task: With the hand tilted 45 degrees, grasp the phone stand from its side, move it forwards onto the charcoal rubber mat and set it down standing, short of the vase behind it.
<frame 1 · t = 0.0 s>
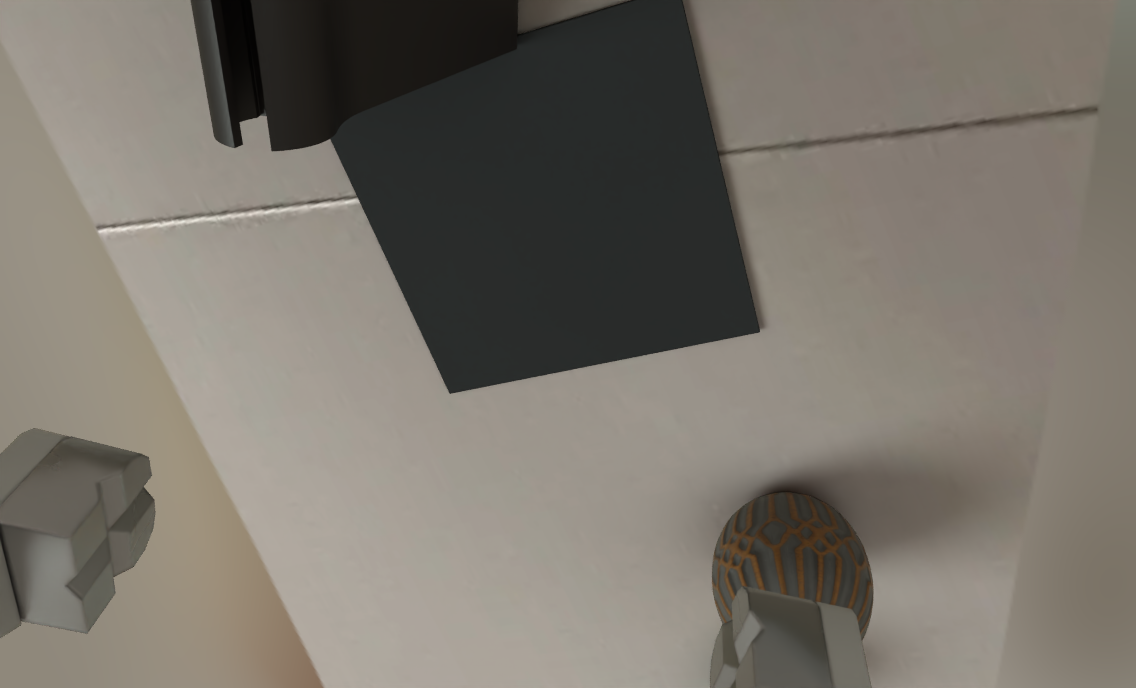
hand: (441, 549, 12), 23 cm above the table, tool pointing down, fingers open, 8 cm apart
mat: (547, 219, 35), on the table
vase: (782, 520, 42), on the table
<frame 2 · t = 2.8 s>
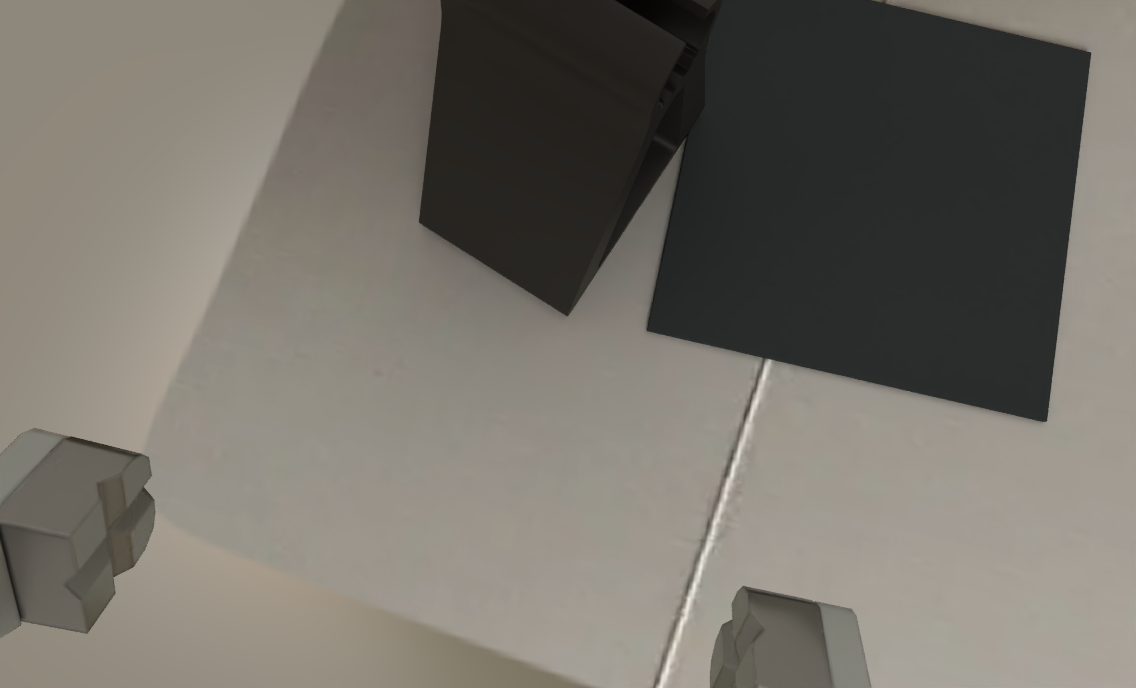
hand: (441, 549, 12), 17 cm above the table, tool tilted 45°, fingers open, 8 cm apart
mat: (877, 186, 31), on the table
phone stand: (564, 169, 31), on the table, touching mat
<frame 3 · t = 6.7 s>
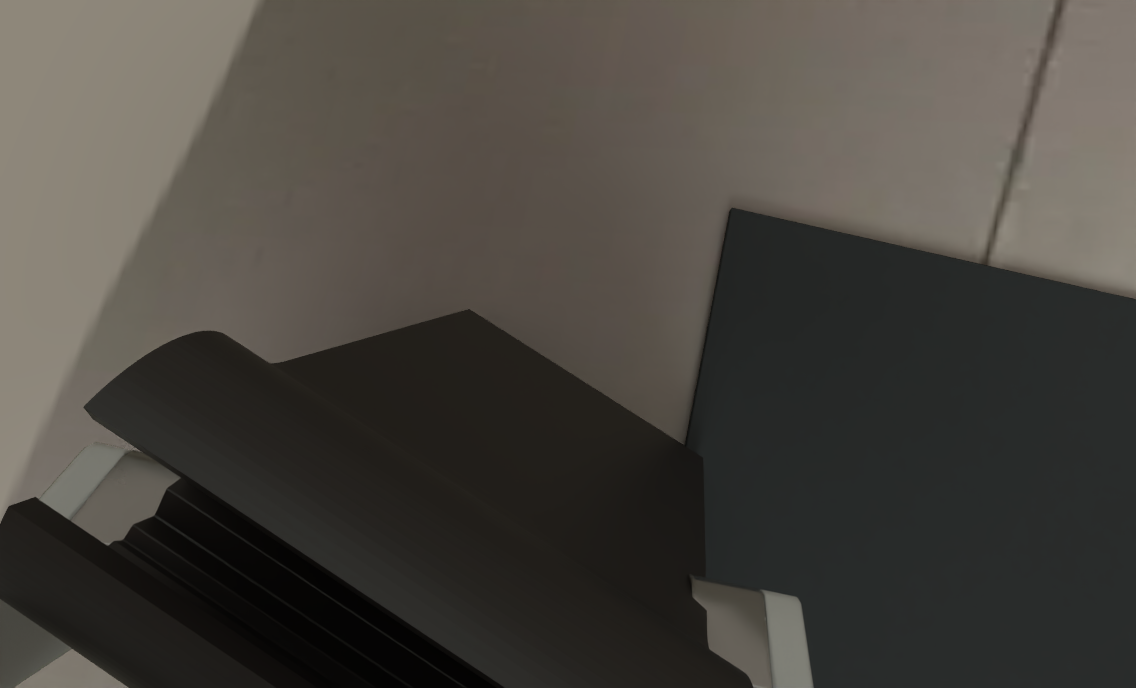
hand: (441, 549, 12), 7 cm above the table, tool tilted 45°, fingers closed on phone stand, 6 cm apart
mat: (985, 578, 19), on the table
phone stand: (471, 561, 19), on the table, touching gripper, mat
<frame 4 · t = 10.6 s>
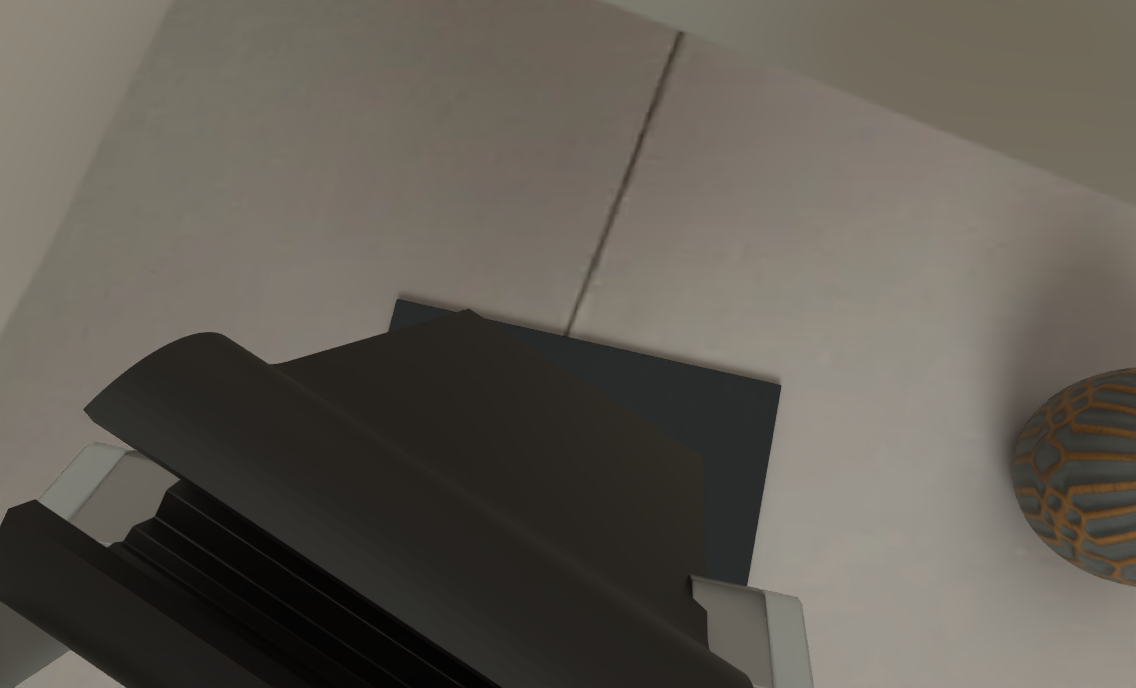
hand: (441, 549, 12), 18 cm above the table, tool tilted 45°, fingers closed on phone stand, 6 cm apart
mat: (547, 539, 30), on the table
phone stand: (471, 561, 19), point 11 cm above the table, touching gripper
vase: (1070, 480, 32), on the table
when the fingers open (7 cm above the table, at t = 14.4 s): phone stand stays where it is, resting on mat.
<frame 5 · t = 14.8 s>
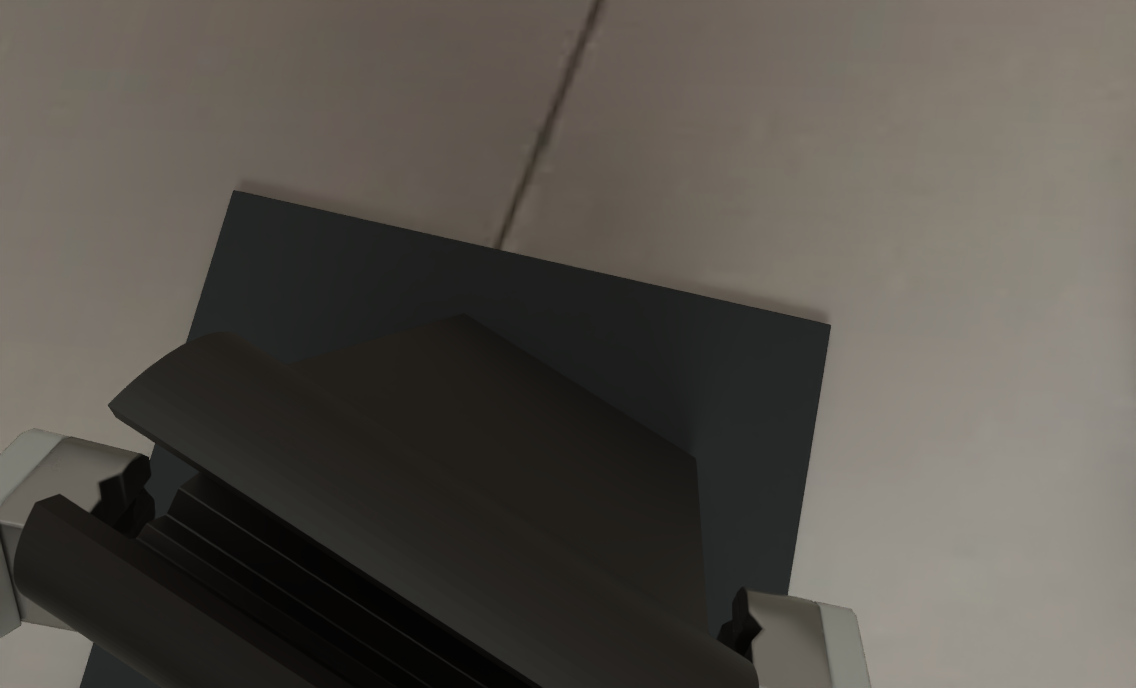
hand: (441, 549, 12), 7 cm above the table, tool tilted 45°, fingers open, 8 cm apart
mat: (462, 565, 19), on the table
phone stand: (467, 563, 19), resting on mat
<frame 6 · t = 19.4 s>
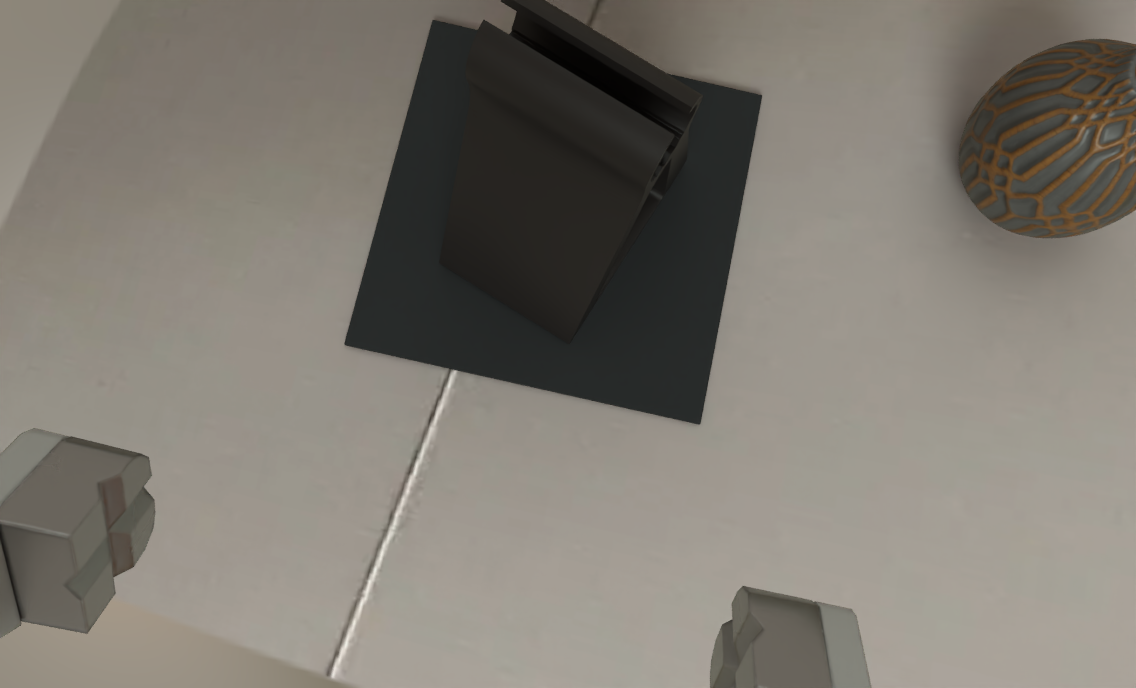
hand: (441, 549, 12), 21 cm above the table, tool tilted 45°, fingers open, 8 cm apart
mat: (561, 216, 35), on the table
phone stand: (564, 215, 35), resting on mat
vase: (1010, 179, 37), on the table
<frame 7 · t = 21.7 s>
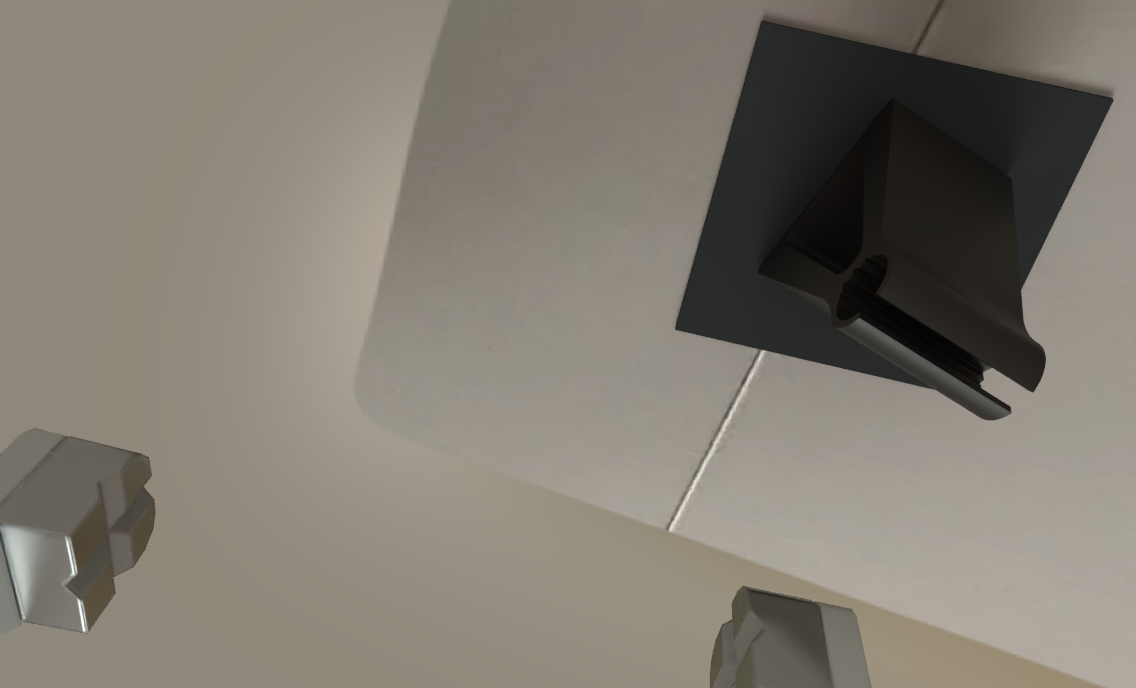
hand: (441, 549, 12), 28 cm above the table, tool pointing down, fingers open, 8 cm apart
mat: (873, 223, 38), on the table
phone stand: (876, 222, 38), resting on mat
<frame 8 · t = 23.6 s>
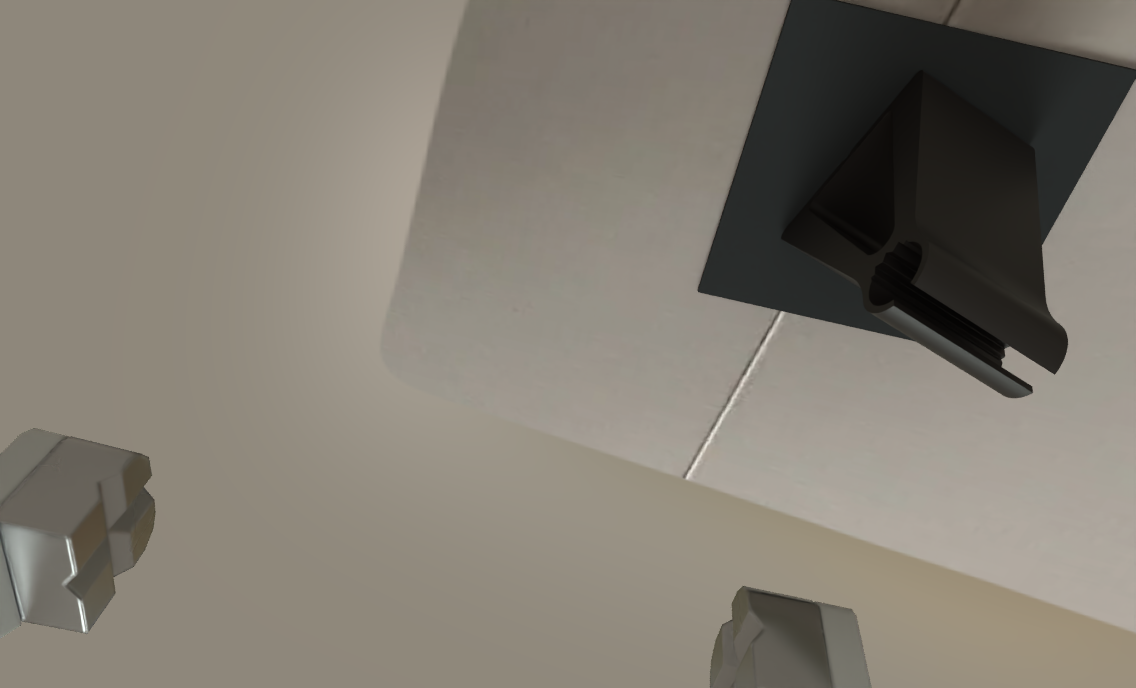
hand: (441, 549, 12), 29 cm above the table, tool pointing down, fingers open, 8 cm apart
mat: (896, 190, 39), on the table
phone stand: (899, 190, 39), resting on mat
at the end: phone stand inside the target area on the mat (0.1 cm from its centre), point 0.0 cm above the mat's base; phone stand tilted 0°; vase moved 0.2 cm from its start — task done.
